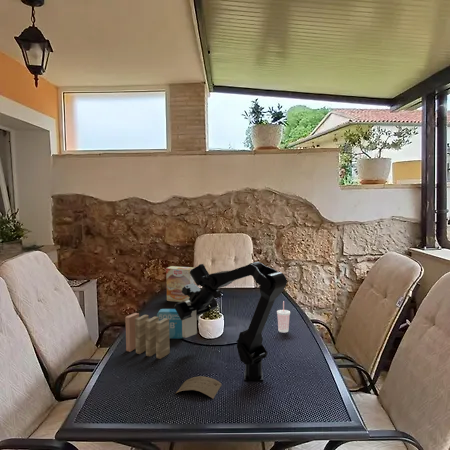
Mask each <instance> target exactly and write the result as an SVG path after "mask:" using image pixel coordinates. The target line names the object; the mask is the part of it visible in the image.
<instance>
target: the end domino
mask: <svg viewBox="0 0 450 450" xmlns="http://www.w3.org/2000/svg"><path fill="white" fill-rule="evenodd" d="M138 317H140V313H139V312H138V313H137V312H134V313H131V314H129V315H127V316H125V318H124V319H125V320H124V321H125V345H126V346H125V348H126V349H125V350H126V352H130V353H131V352H132V351H134V350H136V336H135V319H136V318H138Z"/></svg>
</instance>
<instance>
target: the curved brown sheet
mask: <svg viewBox="0 0 450 450" xmlns="http://www.w3.org/2000/svg"><path fill="white" fill-rule="evenodd" d="M222 385H223V384H222V383H221V382H220V381H219V380H216V379H214V378H212V377H208V376H202V375H201V376H199V375H198V376H194V377H190V378H188V379H186V380H184V382H183V383H182V384H181V386H180V387H179V389H178V390H177V391H176V392H175V393H174V395H176V394H177V393H180V392H182V391H183V392H184V391H196V392H200V393H202V394H204V395H206V396H208V397H210V398H211V399H213V400H214V399H215V397H216V396H217V393H218V391H219V390H220V388H221V387H222Z"/></svg>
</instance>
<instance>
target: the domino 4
mask: <svg viewBox="0 0 450 450" xmlns="http://www.w3.org/2000/svg"><path fill="white" fill-rule="evenodd" d="M185 302H186V303H187V305H188V306H189V305H191V304H190V303H191V302H190V300H188V301H185ZM191 316H192V317H190V318H187V319H184V320H182V337H184V338H189V337H192V336H194V335H197V334H198V331H197V328H198V327H197V326H198V324H197V323H198V322H197V321H198V320H197V316H196V310H195V311H192V313H191Z"/></svg>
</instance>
